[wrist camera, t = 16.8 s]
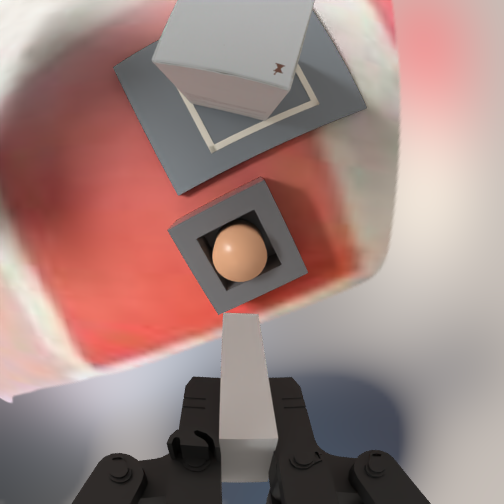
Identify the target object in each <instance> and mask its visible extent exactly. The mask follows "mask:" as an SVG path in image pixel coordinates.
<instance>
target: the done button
mask: <svg viewBox="0 0 504 504" xmlns="http://www.w3.org/2000/svg"><path fill="white" fill-rule="evenodd" d="M212 256H213V263H214V266H215V268H216V270H217V271H218V272H219V273H220V274H221V275H222V276H223V277H224V278H226V279H228V280H231V281H235V282H244V281H249V280H251V279H253V278H255V277H256V276H258V275H259V274H260V273H261V272H262V270H263V269H264V267H265V265H266V261H267V251H266V247H265V244H264V241H263V238H262V235H261V232H260V231H259V229H258V228H257V227H256V226H255V225H254V224H252V223H251V222H249V221H246V220H233V221H230V222H228V223H226V224H225V225H223V226H222V227H221V229H220V230H219V232H218V234H217V236H216V241H215V245H214V249H213V255H212Z"/></svg>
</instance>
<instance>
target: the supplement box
mask: <svg viewBox="0 0 504 504" xmlns="http://www.w3.org/2000/svg"><path fill="white" fill-rule="evenodd" d="M314 1H315V0H178V1H177V3H176V5H175V7H174V9H173V11H172V13H171V15H170V17H169V19H168V21H167V24H166V26H165V28H164V30H163V33H162V35H161V37H160V40H159V42H158V44H157V47H156V49H155V52H154V54H153V57H152V62H153V63H154V64H155V65H156V66H157V67H158V68H159V69H160V70H161V71H162V72H163V73H164V74H165V76H166V77H167V78H168V79H169V80H170V81H171V82H172V83H173V84H174V85H175V86H176V87H177V88H178V90H179V91H180V92H181V93H182V94H183V95H184V96H185V97H186V99H187V100H188V101H189V102H190V103H192V104H196V105H200V106H205V107H209V108H214V109H218V110H223V111H227V112H231V113H235V114H240V115H244V116H248V117H251V118H255V119H259V120H263V121H266V120H267V119H268V117H269V116H270V115H271V114H272V112H273V111H274V110H275V109H276V107H277V106H278V105H279V103H280V102H281V101H282V100H283V98H284V97H285V96H286V95H287V94H288V92H289V91H290V89H291V86H292V83H293V79H294V75H295V72H296V68H297V65H298V61H299V57H300V54H301V50H302V47H303V43H304V39H305V35H306V32H307V28H308V24H309V20H310V16H311V13H312V9H313V5H314Z"/></svg>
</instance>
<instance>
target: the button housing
mask: <svg viewBox="0 0 504 504" xmlns="http://www.w3.org/2000/svg"><path fill="white" fill-rule="evenodd" d="M233 220H246V221H249V222H251V223H252V224H254V225H255V226H256V227H257V228H258V229H259V231H260V232H261V235H262V238H263V241H264V244H265V247H266V251H267V261H266V265H265V267H264V269H263V270H262V272H261V273H260V274H259V275H258V276H256V277H255V278H253V279H251V280H249V281H244V282H235V281H231V280H228V279H226V278H224V277H223V276H222V275H221V274H220V273H219V272H218V271H217V270H216V268H215V266H214V263H213V256H212V255H213V249H214V245H215V241H216V236H217V234H218V232H219V230H220V229H221V227H222V226H223V225H225V224H226V223H228V222H230V221H233ZM168 232H169V234H170V235H171V237H172V239H173V241H174V242H175V244H176V246H177V247H178V249H179V251H180V253H181V254H182V256H183V258H184V259H185V261H186V263H187V264H188V266H189V268H190V269H191V271H192V273H193V274H194V276H195V278H196V279H197V281H198V283H199V284H200V286H201V288H202V289H203V291H204V292H205V294H206V296H207V297H208V299H209V300H210V302H211V304H212V305H213V307H214V308H215V310H216V312H217V313H218V315H219V314H221V313H224V312H226V311H228V310H230V309H233V308H235V307H237V306H239V305H241V304H244V303H246V302H248V301H250V300H252V299H254V298H257V297H259V296H261V295H263V294H265V293H267V292H269V291H272V290H274V289H276V288H278V287H280V286H282V285H284V284H286V283H288V282H290V281H293V280H295V279H297V278H299V277H301V276H303V275H305V274H307V273H308V271H307V269H306V267H305V264H304V262H303V260H302V258H301V256H300V253H299V251H298V249H297V247H296V245H295V243H294V241H293V238H292V236H291V234H290V232H289V230H288V228H287V226H286V223H285V221H284V219H283V217H282V215H281V213H280V211H279V209H278V207H277V205H276V203H275V201H274V198H273V196H272V194H271V192H270V190H269V188H268V186H267V184H266V182H265V180H264V179H263V178H261V177H259V178H257V179H255V180H253V181H251V182H249V183H247V184H245V185H243V186H241V187H239V188H237V189H235V190H233V191H231V192H229V193H227V194H225V195H223V196H221V197H219V198H217V199H215V200H213V201H211V202H209V203H207V204H206V205H204V206H202V207H200V208H198V209H196V210H194V211H192V212H190V213H189V214H187V215H185V216H183V217H181V218H179V219H178V220H176V221H175V222H174V223H173V225H172V226H171V227H170V228H169V229H168Z"/></svg>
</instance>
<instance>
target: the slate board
mask: <svg viewBox="0 0 504 504" xmlns="http://www.w3.org/2000/svg"><path fill="white" fill-rule="evenodd" d="M159 40H160V39H159ZM159 40H157V41H156V42H154V43H152V44H150V45H148V46H147V47H145V48H143V49H141V50H140V51H138V52H136V53H135V54H133V55H131V56H130V57H128V58H127V59H125V60H123V61H122V62H120V63H119V64H117V65H116V66H114V67H113V68H114V71H115V73H116V75H117V77H118V79H119V81H120V83H121V85H122V87H123V89H124V91H125V93H126V95H127V97H128V100H129V102H130V104H131V106H132V108H133V110H134V112H135V114H136V116H137V118H138V120H139V122H140V124H141V126H142V128H143V130H144V131H145V133H146V135H147V137H148V139H149V141H150V143H151V145H152V147H153V149H154V151H155V153H156V155H157V157H158V159H159V161H160V162H161V164H162V166H163V168H164V170H165V172H166V174H167V176H168V178H169V179H170V181H171V183H172V185H173V187H174V189H175V191H176V192H177V194H178V196H179V195H181V194H182V193H184V192H186V191H188V190H190V189H192V188H193V187H195V186H197V185H199V184H201V183H203V182H205V181H206V180H208V179H210V178H212V177H214V176H216V175H218V174H220V173H222V172H224V171H226V170H228V169H230V168H232V167H234V166H236V165H238V164H240V163H242V162H244V161H246V160H248V159H250V158H252V157H254V156H256V155H258V154H260V153H262V152H264V151H267V150H269V149H271V148H273V147H275V146H277V145H280V144H282V143H284V142H286V141H288V140H291V139H293V138H295V137H297V136H300V135H302V134H304V133H307V132H309V131H311V130H314V129H316V128H318V127H321V126H323V125H325V124H328V123H330V122H333V121H335V120H338V119H340V118H343V117H345V116H348V115H350V114H353V113H356V112H358V111H361V110H364V109H366V108H367V107H366V105H365V102H364V100H363V98H362V96H361V94H360V92H359V90H358V88H357V86H356V84H355V82H354V80H353V78H352V76H351V74H350V72H349V70H348V68H347V67H346V65H345V63H344V61H343V59H342V57H341V56H340V54H339V52H338V50H337V49H336V47H335V45H334V43H333V42H332V40H331V38H330V37H329V35H328V33H327V32H326V30H325V29H324V27H323V25H322V24H321V22H320V21H319V19H318V18H317V16H316V15H315V13H314V12H313V10H312V13H311V16H310V20H309V24H308V28H307V32H306V35H305V39H304V43H303V47H302V50H301V54H300V57H299V61H298V65H297V68H296V72H295V75H294V79H293V83H292V86H291V89H290V91H289V92H288V94H287V95H286V96H285V97H284V98H283V100H282V101H281V102H280V103H279V105H278V106H277V107H276V109H275V110H274V111H273V112H272V114H271V115H270V116H269V117H268V119H267V120H266V121H263V120H259V119H255V118H251V117H248V116H244V115H240V114H235V113H231V112H227V111H223V110H218V109H214V108H209V107H205V106H200V105H196V104H192V103H190V102H189V101H188V100H187V99H186V97H185V96H184V95H183V94H182V93H181V92H180V91H179V90H178V88H177V87H176V86H175V85H174V84H173V83H172V82H171V81H170V80H169V79H168V78H167V77H166V76H165V74H164V73H163V72H162V71H161V70H160V69H159V68H158V67H157V66H156V65H155V64H154V63H153V62H152V57H153V54H154V52H155V49H156V47H157V44H158V42H159Z"/></svg>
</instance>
